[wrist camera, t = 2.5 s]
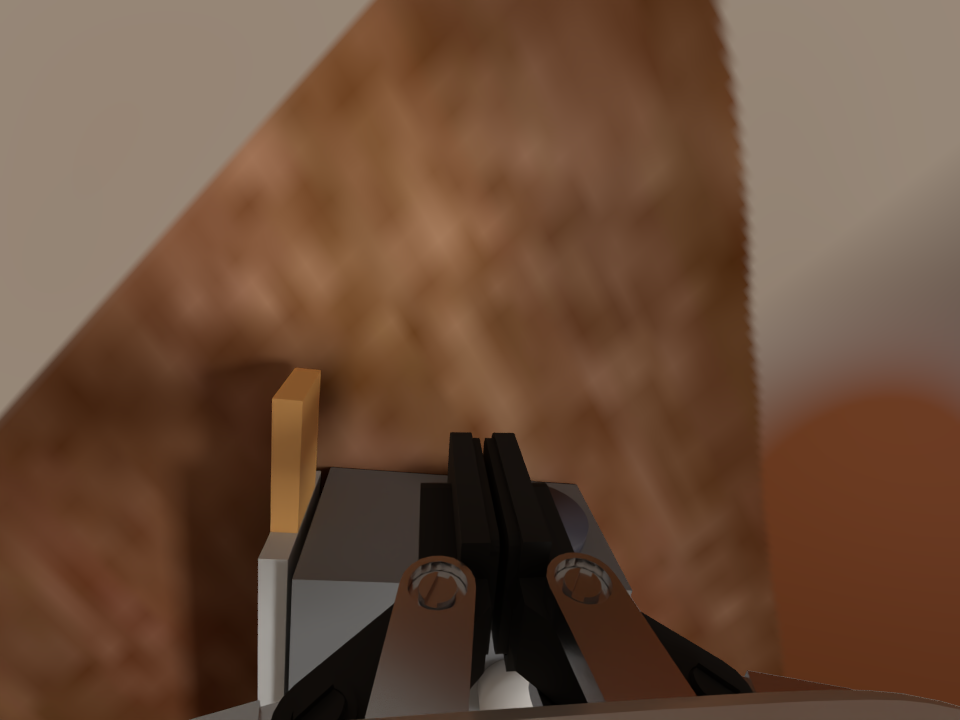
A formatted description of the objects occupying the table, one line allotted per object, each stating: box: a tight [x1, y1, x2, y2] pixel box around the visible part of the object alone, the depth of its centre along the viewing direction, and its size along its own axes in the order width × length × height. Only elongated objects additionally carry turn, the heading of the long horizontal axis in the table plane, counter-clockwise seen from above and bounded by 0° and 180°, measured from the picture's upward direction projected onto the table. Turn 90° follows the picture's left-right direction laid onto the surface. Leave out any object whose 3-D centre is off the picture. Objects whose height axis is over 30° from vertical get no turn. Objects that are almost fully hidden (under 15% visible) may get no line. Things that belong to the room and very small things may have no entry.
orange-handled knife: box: [258, 368, 321, 707], centre depth 17 cm, size 20×1×4 cm, turn 171°
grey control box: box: [288, 467, 632, 711], centre depth 18 cm, size 17×10×6 cm, turn 171°
